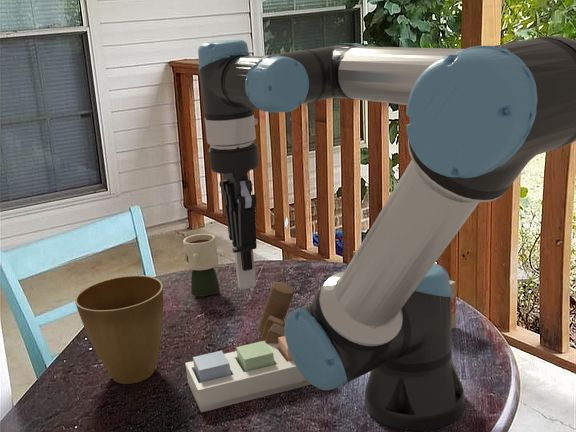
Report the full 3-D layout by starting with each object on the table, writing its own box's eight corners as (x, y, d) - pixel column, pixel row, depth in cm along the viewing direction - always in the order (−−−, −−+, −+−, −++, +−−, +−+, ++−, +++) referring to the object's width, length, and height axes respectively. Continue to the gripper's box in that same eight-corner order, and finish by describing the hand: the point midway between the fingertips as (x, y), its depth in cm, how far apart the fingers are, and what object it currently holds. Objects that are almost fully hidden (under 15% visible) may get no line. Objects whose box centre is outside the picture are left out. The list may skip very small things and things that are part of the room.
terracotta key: (317, 361, 125) (315, 342, 124) (289, 368, 123) (287, 349, 122) (306, 349, 129) (305, 331, 128) (279, 355, 128) (278, 337, 127)
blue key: (231, 382, 120) (229, 363, 119) (201, 389, 119) (199, 370, 118) (224, 369, 125) (221, 350, 124) (195, 376, 124) (192, 357, 123)
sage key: (275, 371, 123) (273, 352, 122) (246, 378, 121) (244, 359, 120) (266, 359, 127) (264, 340, 126) (238, 365, 126) (236, 347, 125)
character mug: (195, 284, 170) (189, 231, 166) (226, 283, 169) (220, 230, 165) (184, 304, 160) (176, 247, 156) (216, 303, 159) (209, 246, 155)
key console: (329, 379, 124) (327, 358, 122) (201, 412, 117) (198, 390, 116) (308, 354, 133) (306, 334, 132) (188, 383, 126) (185, 362, 125)
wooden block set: (281, 376, 131) (298, 330, 127) (237, 355, 133) (252, 309, 128) (308, 328, 147) (324, 285, 143) (269, 310, 149) (284, 268, 144)
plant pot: (109, 354, 140) (96, 275, 135) (184, 354, 137) (173, 274, 132) (75, 396, 125) (59, 309, 121) (158, 397, 123) (145, 309, 118)
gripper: (268, 147, 108) (281, 295, 115) (244, 134, 120) (257, 269, 127) (219, 154, 106) (235, 305, 113) (199, 140, 118) (215, 277, 125)
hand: (247, 286), depth 120 cm, fingers closed
